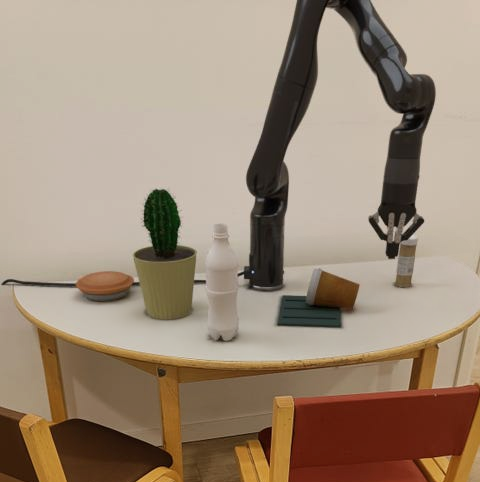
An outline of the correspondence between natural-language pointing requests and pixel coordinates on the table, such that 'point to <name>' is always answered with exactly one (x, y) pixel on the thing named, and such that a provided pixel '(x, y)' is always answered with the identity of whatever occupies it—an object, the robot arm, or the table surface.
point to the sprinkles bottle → (406, 262)
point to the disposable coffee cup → (331, 290)
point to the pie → (105, 285)
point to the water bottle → (222, 286)
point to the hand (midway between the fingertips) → (391, 258)
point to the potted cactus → (165, 260)
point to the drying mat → (307, 313)
